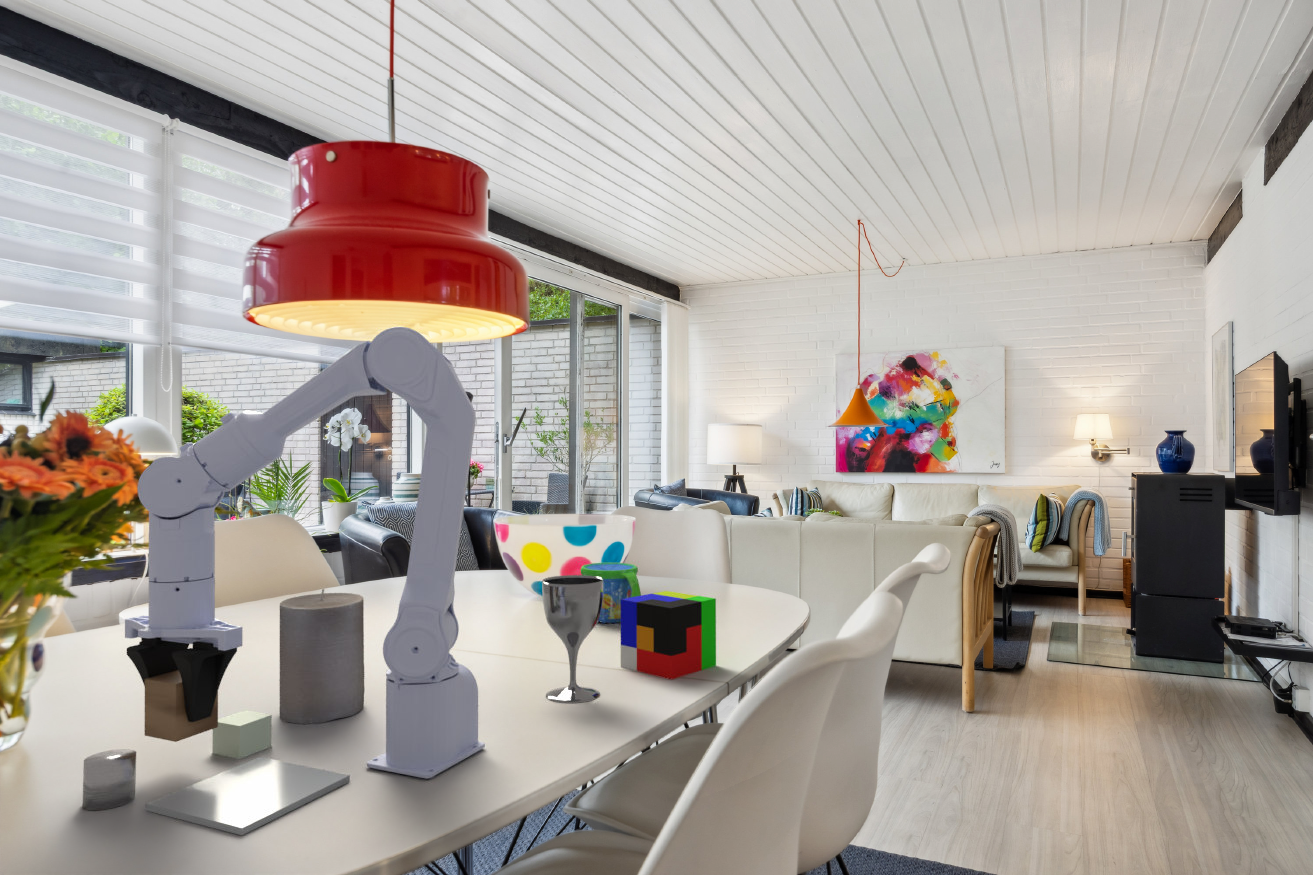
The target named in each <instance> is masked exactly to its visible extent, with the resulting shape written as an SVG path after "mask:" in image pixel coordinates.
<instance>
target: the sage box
mask: <svg viewBox="0 0 1313 875" xmlns="http://www.w3.org/2000/svg"><path fill="white" fill-rule="evenodd" d="M272 717H273V715H272V714H268V713H263V712H258V711H253V710H247V709H245V710H242V711H238V712H236V713H233V714H230V715H227V716H224V717H221V718H218V727H217V728H214V729H212V751H211V752H212V754H214V755H219V756H223V757H229V758H233V759H238V760H240V759H243V758H245V757H248V756H250V755H253V754H256V753H258V752H260V751H263V750H265V749H267V748H270V747H272V734H273V733H272V730H273V728H272V721H273V719H272Z"/></svg>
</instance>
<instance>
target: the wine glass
mask: <svg viewBox="0 0 1313 875" xmlns="http://www.w3.org/2000/svg"><path fill="white" fill-rule="evenodd" d="M541 583H542V585H541V586H542V587H541V588H542V589H541V590H542V604H543V611H544V614H545V619H546V622H547V625H549V627H550V628H551V630H552V631H553V632H554V633H555V635H556V636H557V637H558V638H559V640H561V642H562V643H563V645H564V647H565V649H566V651H567V655H568V662H569V663H568V664H569V684H568V685H567V686H564V687H559V688H554V689H552V690H549V691H547V692H546V694H545V698H546V699H547V700H549V701H551V702H555V703H561V704H579V703H585V702H587V703H588V702H590V701H594V700H596V699H598V698H599V697H600V696H601V692H600V691H599V690H597V689H595V688H593V687H588V686H579V685H578V684H577V663H578V662H577V661H578V655H579V650H580V648H581V646H582V644H583V643H584V641H585V639H587V637H588V636H589V635H590V634H591V632H592V631H593V630H594V629H595V627H596V626H597V624H598V623H599V622H598V620H599V617H600V613H601V609H602V602H603V578H600V577H596V576H588V575H582V574H570V575H556V576H555V575H554V576H550V577H549V576H548V577H545V578H543V579H542V582H541Z"/></svg>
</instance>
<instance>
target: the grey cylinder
mask: <svg viewBox="0 0 1313 875" xmlns="http://www.w3.org/2000/svg"><path fill="white" fill-rule="evenodd" d="M82 770H83V775H82V808H83V809H84V810H87V811H104V810H109V809H114V808H117V807H118V808H119V807H122V806H124V805H126V804H129V803H130V802H132V801H134V799H135V798H136V784H137V783H136V782H137V781H136V779H137V777H136V776H137V751H136V750H134V749H127V748H119V749H111V750H105V751H101V752H97V753H95V754H91V755H89V756H87V757H86V758H84V760H83V769H82Z"/></svg>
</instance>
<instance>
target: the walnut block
mask: <svg viewBox="0 0 1313 875" xmlns="http://www.w3.org/2000/svg"><path fill="white" fill-rule="evenodd" d="M218 719H219V691H218V692H217V696H216V700H215V703H214V707H213V711H212V714H211V717H208V718H205V719H202V720H199V721H196V722H189V721H188V719H187V715H186V710H185V700H184V688H183V683H182V679H181V675H180V672H179V670H177V671H173V672H169V673H166V674H162V675H158V676H155V677H151V678H147V679H145V686H144V737H150V738H155V739H160V740H165V741H169V742H175V743H177V742H180V741H182V740H185V739H188V738H191V737H195V736H197V735H199V734H201V733H205V732H207V731H211V730H213V729H214V728H217V727H218Z"/></svg>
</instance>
